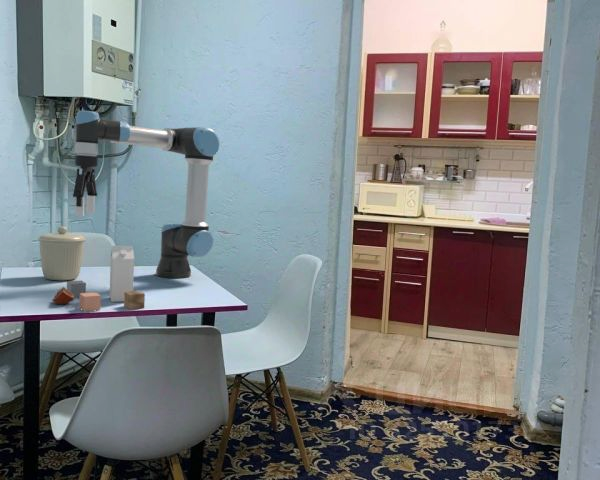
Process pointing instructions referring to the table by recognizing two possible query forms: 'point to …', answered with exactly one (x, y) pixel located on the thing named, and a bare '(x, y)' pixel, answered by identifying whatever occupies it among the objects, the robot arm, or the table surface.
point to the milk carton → (121, 272)
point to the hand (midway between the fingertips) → (85, 214)
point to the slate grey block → (76, 287)
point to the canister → (61, 254)
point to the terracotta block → (89, 301)
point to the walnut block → (134, 299)
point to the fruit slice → (63, 296)
